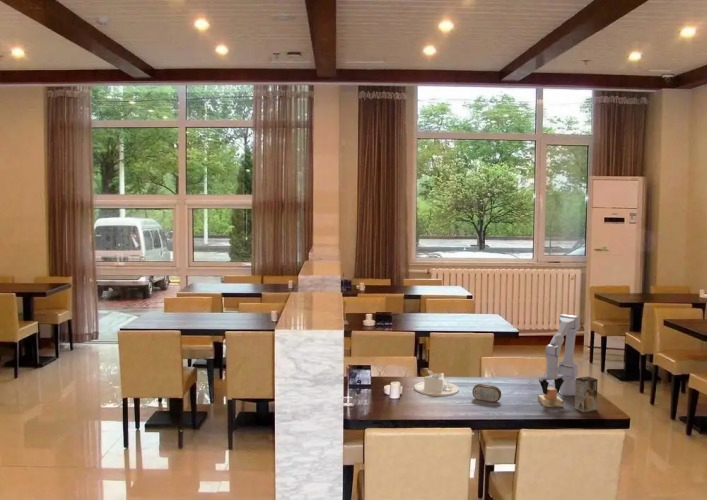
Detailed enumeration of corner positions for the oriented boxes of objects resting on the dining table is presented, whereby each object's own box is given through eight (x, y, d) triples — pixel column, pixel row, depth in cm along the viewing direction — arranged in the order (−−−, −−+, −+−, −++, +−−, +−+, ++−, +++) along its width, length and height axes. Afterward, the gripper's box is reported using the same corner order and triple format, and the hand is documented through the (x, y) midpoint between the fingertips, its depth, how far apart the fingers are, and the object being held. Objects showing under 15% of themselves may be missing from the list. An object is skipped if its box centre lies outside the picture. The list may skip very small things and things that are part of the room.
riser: (556, 400, 344) (556, 395, 344) (563, 406, 334) (563, 401, 334) (537, 400, 344) (538, 394, 343) (544, 406, 334) (544, 400, 333)
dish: (448, 399, 343) (449, 378, 342) (406, 391, 356) (406, 371, 355) (465, 388, 364) (466, 368, 363) (425, 380, 377) (426, 361, 376)
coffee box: (586, 406, 336) (588, 376, 334) (596, 410, 330) (598, 379, 328) (574, 408, 331) (575, 378, 330) (583, 412, 326) (585, 381, 324)
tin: (501, 402, 340) (501, 386, 339) (499, 404, 337) (500, 388, 336) (473, 398, 346) (473, 382, 345) (471, 399, 343) (472, 384, 342)
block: (551, 396, 342) (551, 386, 341) (556, 398, 338) (557, 389, 337) (544, 396, 340) (544, 387, 340) (549, 399, 336) (549, 390, 336)
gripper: (558, 364, 344) (557, 389, 345) (535, 366, 338) (534, 392, 340) (567, 368, 337) (566, 393, 338) (544, 370, 332) (543, 396, 333)
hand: (550, 393), depth 338 cm, fingers open, 7 cm apart
